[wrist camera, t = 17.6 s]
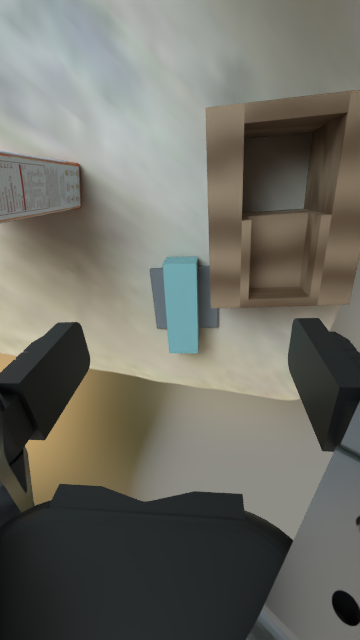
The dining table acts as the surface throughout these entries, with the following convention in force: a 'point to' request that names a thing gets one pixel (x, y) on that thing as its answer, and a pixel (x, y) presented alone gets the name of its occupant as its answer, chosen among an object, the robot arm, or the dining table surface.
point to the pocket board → (285, 225)
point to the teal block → (182, 303)
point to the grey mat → (205, 312)
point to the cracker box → (36, 186)
